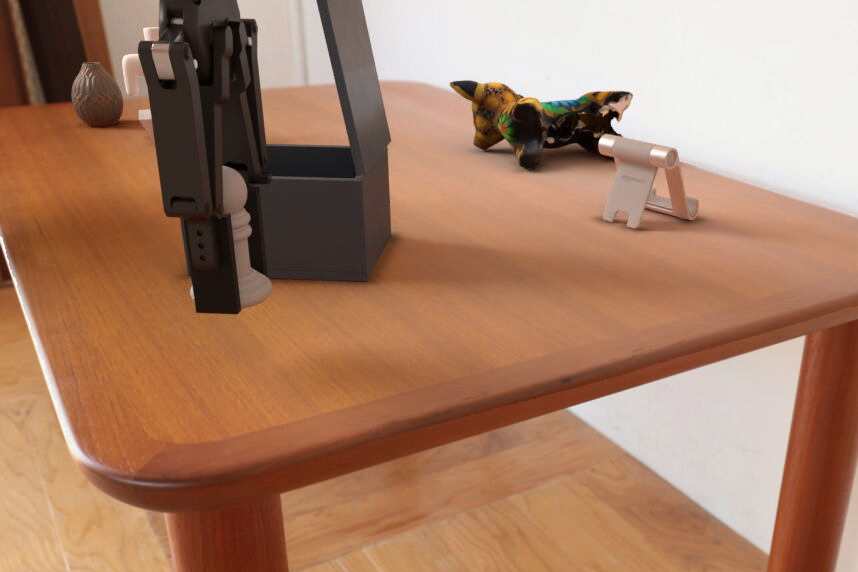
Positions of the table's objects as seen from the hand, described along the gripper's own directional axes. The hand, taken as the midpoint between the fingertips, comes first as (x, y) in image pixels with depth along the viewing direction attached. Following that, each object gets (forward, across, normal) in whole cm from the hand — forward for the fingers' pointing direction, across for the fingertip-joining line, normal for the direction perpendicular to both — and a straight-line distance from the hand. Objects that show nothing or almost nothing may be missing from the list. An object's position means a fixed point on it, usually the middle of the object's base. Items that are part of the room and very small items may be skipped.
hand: (233, 293), depth 61 cm
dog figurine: (+5, +65, -20) cm, 68 cm away
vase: (+6, +77, +46) cm, 90 cm away
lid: (-12, +22, -4) cm, 26 cm away
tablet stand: (+5, +37, -31) cm, 49 cm away
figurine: (+6, +68, +32) cm, 75 cm away
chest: (+5, +22, +2) cm, 23 cm away
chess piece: (0, 0, 0) cm, 1 cm away
